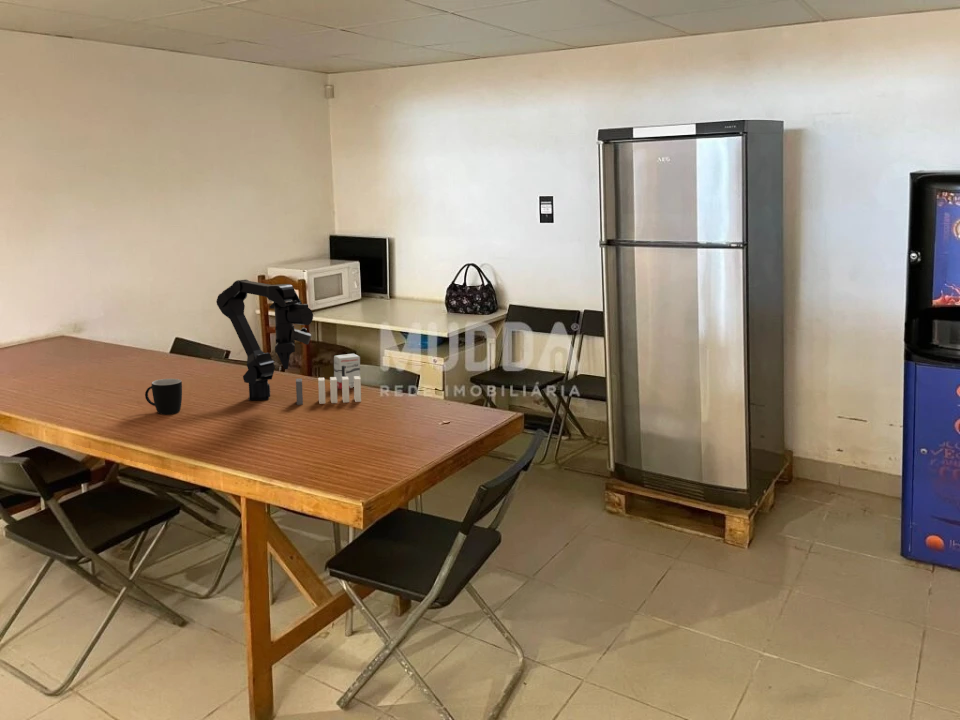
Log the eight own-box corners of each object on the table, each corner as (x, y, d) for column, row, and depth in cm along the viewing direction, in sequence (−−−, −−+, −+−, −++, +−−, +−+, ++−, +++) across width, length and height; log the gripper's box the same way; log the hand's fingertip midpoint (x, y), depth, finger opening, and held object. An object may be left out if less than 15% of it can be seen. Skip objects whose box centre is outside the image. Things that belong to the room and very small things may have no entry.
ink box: (339, 389, 282) (338, 357, 279) (334, 387, 286) (333, 355, 283) (361, 386, 286) (360, 355, 284) (355, 384, 290) (354, 353, 288)
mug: (188, 409, 254) (186, 379, 252) (175, 416, 245) (172, 385, 243) (154, 407, 255) (151, 377, 253) (139, 415, 247) (136, 384, 244)
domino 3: (331, 403, 263) (330, 380, 262) (330, 399, 268) (330, 377, 266) (337, 402, 264) (336, 379, 262) (336, 399, 268) (336, 377, 266)
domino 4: (343, 402, 264) (342, 379, 263) (342, 399, 268) (341, 376, 267) (349, 402, 265) (348, 379, 263) (348, 399, 269) (347, 376, 267)
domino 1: (296, 404, 261) (295, 381, 259) (296, 401, 265) (295, 378, 263) (302, 404, 261) (302, 381, 260) (302, 401, 265) (301, 378, 264)
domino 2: (319, 403, 262) (318, 380, 261) (318, 400, 267) (318, 377, 265) (325, 403, 263) (324, 380, 261) (324, 400, 267) (324, 377, 265)
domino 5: (355, 401, 265) (354, 379, 264) (354, 398, 269) (353, 376, 268) (361, 401, 266) (360, 378, 264) (360, 398, 270) (359, 376, 268)
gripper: (309, 326, 249) (311, 373, 253) (308, 317, 267) (310, 362, 270) (274, 327, 247) (276, 375, 250) (274, 318, 265) (276, 363, 268)
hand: (286, 368), depth 260 cm, fingers closed
